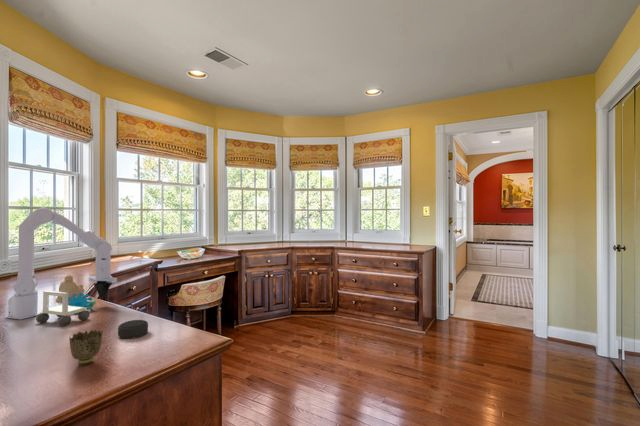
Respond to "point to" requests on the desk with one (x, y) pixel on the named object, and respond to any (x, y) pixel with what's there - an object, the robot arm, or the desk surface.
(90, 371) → the desk surface
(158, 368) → the desk surface
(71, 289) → the statue
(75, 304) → the blue green toy
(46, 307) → the cart
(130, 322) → the smart speaker
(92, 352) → the cup
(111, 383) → the desk surface
